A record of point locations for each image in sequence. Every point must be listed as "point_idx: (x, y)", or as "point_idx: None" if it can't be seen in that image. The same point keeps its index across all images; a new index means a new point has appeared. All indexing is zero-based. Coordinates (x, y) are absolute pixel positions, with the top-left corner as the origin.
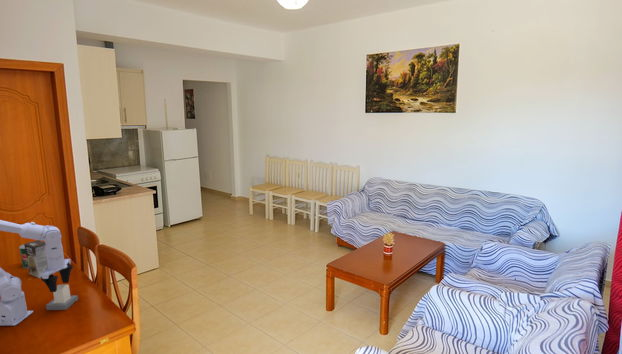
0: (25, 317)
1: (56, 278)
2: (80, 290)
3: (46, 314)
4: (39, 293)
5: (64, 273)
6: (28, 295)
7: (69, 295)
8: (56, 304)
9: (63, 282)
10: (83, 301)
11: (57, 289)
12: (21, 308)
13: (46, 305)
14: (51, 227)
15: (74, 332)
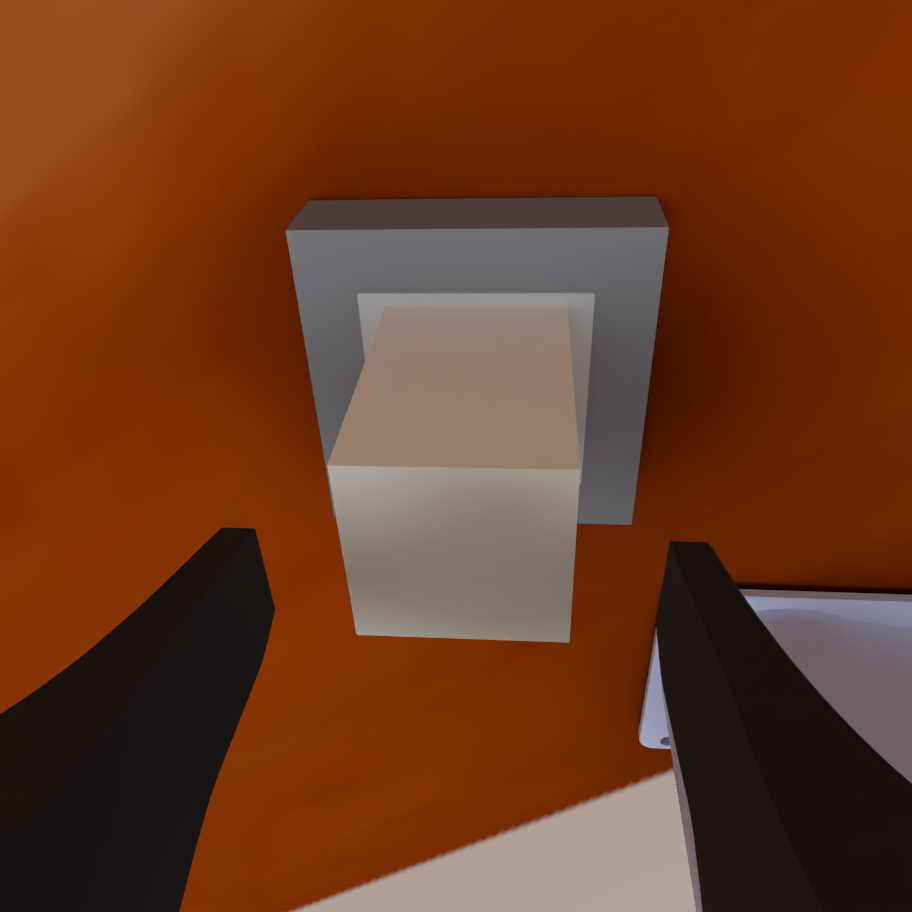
0: (813, 594)
1: (870, 868)
2: (47, 348)
3: (756, 411)
4: (254, 724)
5: (161, 783)
6: (309, 778)
7: (401, 329)
8: (615, 399)
9: (270, 607)
10: (355, 45)
11: (573, 561)
12: (873, 724)
13: (632, 516)
14: None
15: None
